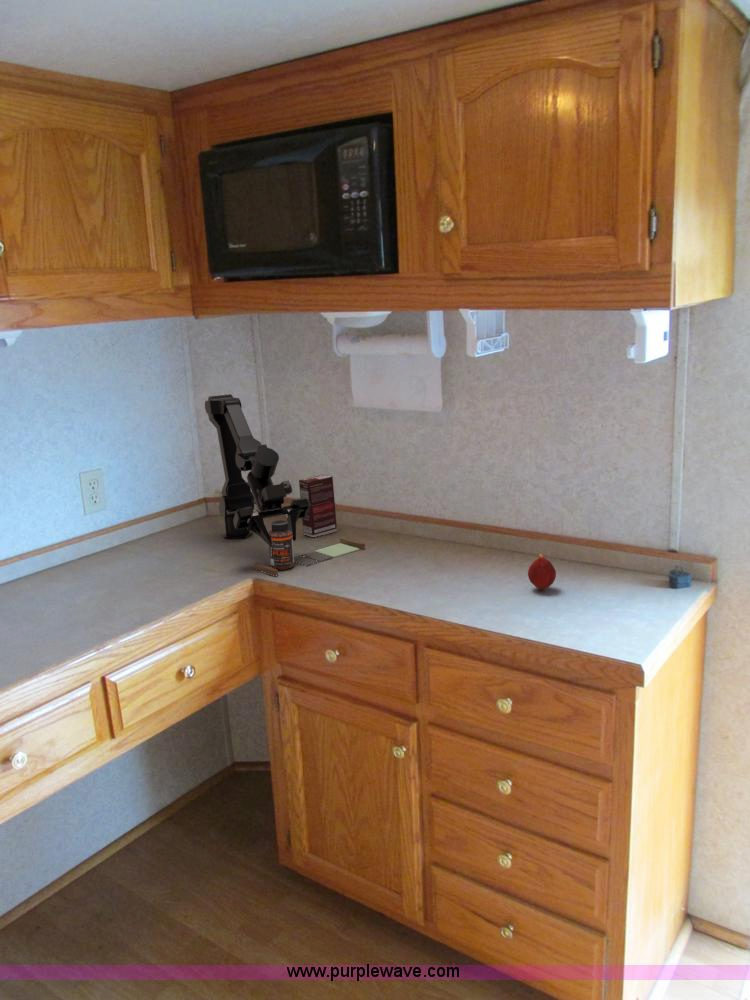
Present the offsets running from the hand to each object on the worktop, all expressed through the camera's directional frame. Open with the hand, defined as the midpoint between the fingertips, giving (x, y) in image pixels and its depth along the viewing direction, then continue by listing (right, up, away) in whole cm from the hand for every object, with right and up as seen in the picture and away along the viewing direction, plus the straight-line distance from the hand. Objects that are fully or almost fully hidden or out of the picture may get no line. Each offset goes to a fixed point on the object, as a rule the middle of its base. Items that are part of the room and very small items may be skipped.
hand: (282, 542), depth 200 cm
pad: (+12, -3, +13) cm, 18 cm away
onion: (+58, -9, -22) cm, 63 cm away
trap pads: (+6, -5, +8) cm, 11 cm away
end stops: (+6, -5, +8) cm, 11 cm away
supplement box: (+7, +1, +30) cm, 31 cm away
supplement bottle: (0, -6, +3) cm, 7 cm away
